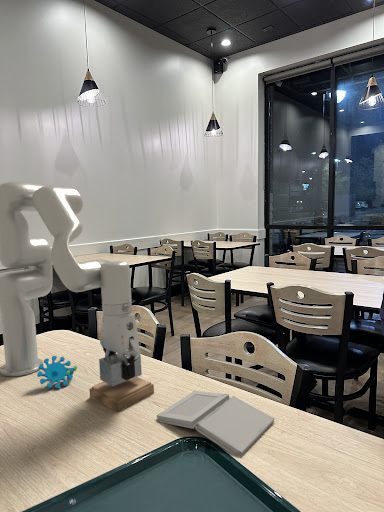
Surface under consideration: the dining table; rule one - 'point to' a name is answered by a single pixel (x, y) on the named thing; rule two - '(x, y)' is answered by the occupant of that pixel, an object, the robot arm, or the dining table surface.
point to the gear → (56, 372)
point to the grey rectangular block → (116, 369)
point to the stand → (121, 393)
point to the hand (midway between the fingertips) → (121, 374)
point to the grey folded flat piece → (219, 419)
